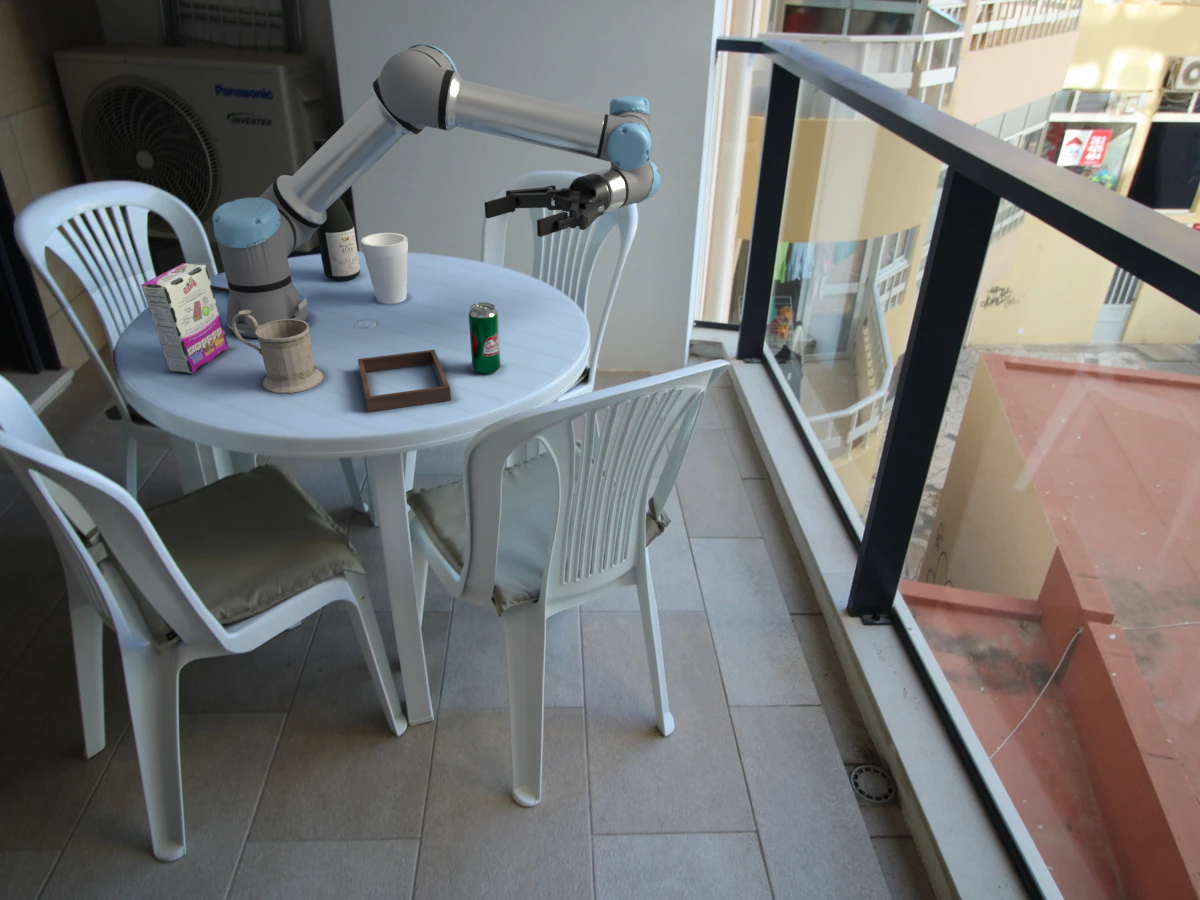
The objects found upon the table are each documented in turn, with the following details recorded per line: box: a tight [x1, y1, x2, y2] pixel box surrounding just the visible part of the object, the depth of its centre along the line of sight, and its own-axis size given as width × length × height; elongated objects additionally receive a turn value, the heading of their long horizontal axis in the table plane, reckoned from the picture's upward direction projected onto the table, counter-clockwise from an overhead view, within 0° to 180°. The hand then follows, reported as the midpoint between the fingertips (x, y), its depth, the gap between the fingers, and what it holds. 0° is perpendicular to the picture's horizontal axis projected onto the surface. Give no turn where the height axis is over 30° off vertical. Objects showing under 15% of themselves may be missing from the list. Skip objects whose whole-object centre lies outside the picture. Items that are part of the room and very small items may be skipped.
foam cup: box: [360, 232, 409, 305], centre depth 165 cm, size 10×9×13 cm
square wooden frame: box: [357, 349, 452, 413], centre depth 134 cm, size 16×14×2 cm
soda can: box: [468, 302, 501, 375], centre depth 138 cm, size 5×5×12 cm
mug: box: [232, 310, 324, 394], centre depth 133 cm, size 14×10×12 cm
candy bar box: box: [140, 262, 230, 375], centre depth 137 cm, size 11×5×16 cm, turn 168°
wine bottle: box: [313, 138, 361, 282], centre depth 172 cm, size 8×8×30 cm
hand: (511, 219), depth 134 cm, fingers open, 13 cm apart
